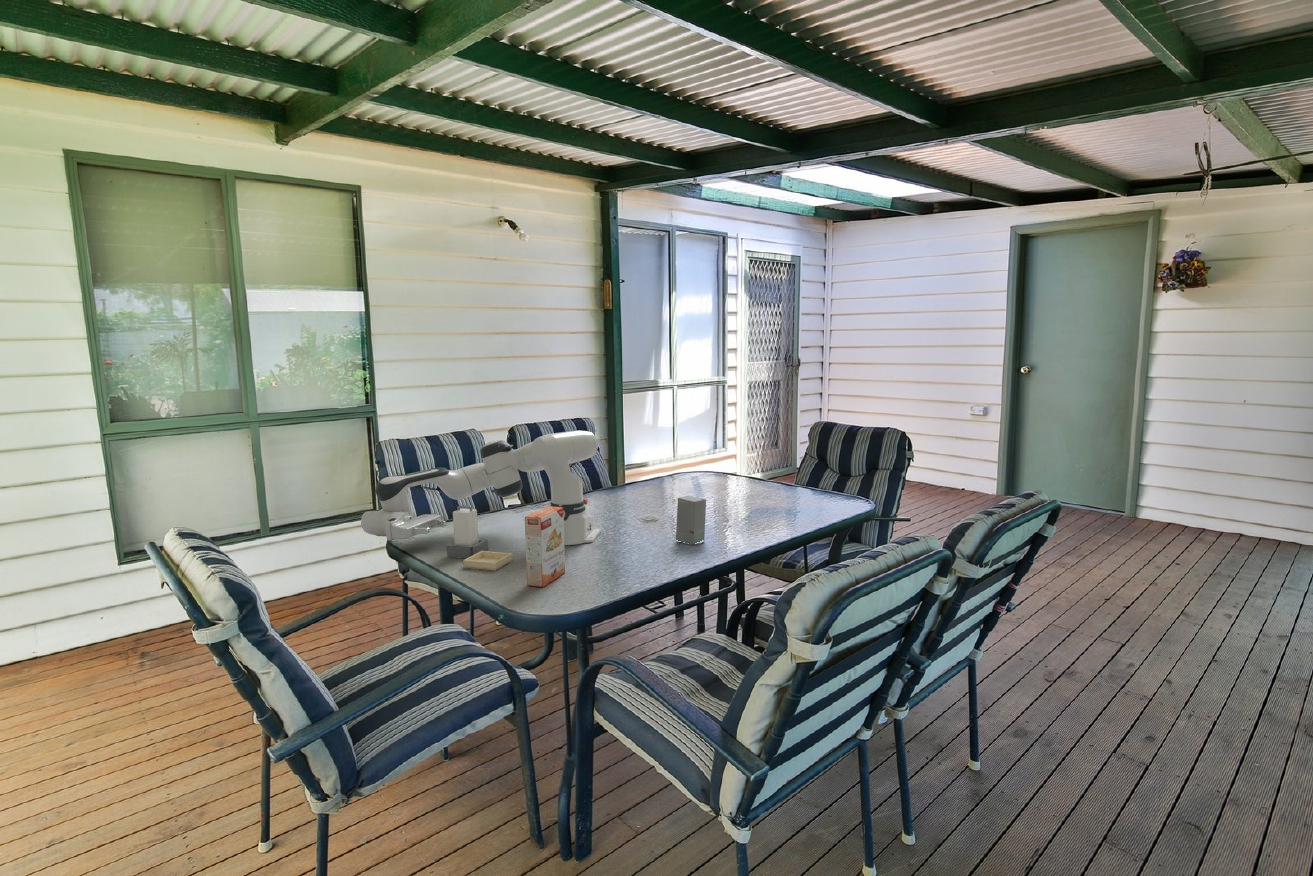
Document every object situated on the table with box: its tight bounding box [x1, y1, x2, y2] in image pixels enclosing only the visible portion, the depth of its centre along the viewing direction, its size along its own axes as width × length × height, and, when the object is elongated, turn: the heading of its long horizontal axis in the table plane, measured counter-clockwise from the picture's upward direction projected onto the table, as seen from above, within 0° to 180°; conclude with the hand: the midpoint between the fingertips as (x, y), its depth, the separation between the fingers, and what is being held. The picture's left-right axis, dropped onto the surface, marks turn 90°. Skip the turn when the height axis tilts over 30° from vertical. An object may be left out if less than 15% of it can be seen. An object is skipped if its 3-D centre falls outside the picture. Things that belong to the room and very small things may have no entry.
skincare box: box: [675, 495, 707, 545], centre depth 247 cm, size 8×7×16 cm
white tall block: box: [452, 505, 479, 546], centre depth 238 cm, size 5×6×16 cm
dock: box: [446, 538, 490, 559], centre depth 239 cm, size 9×10×4 cm
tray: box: [462, 550, 514, 572], centre depth 227 cm, size 11×12×2 cm
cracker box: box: [524, 505, 566, 588], centre depth 210 cm, size 14×6×21 cm, turn 160°
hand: (436, 527), depth 241 cm, fingers open, 8 cm apart
